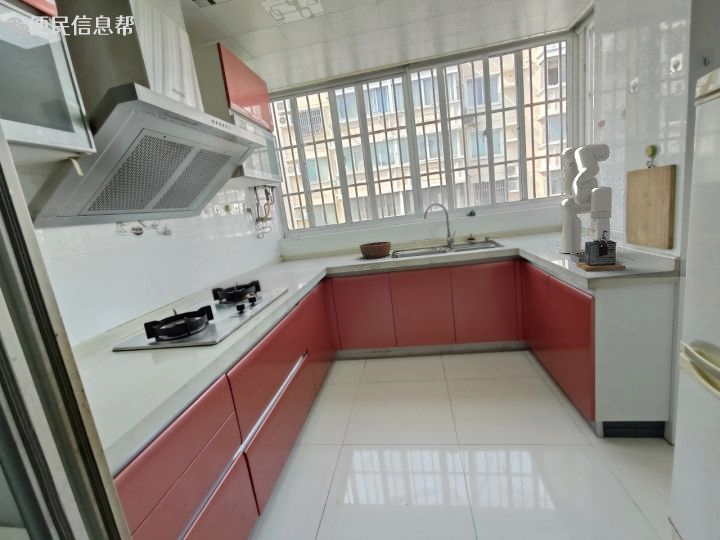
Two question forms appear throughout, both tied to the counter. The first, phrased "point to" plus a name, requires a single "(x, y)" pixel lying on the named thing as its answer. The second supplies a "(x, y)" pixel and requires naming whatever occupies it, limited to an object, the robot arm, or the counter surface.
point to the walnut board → (600, 267)
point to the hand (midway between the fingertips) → (599, 253)
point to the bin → (579, 258)
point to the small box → (593, 254)
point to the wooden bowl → (375, 249)
